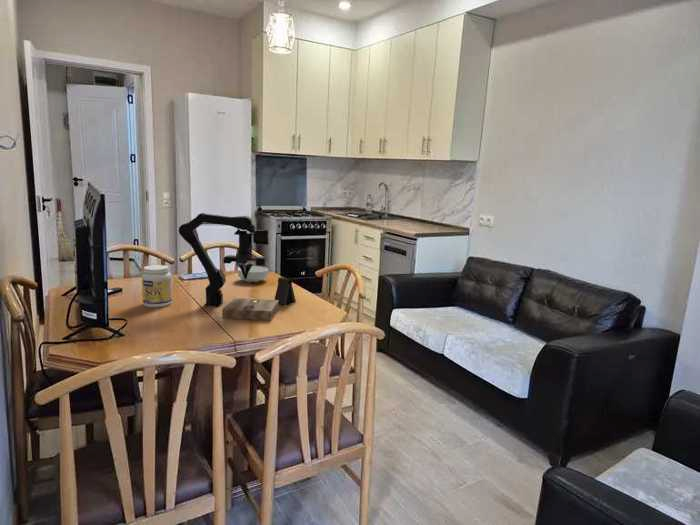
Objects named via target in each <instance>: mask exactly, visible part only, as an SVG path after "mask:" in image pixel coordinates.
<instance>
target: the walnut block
mask: <svg viewBox="0 0 700 525" xmlns="http://www.w3.org/2000/svg"><path fill="white" fill-rule="evenodd" d="M253 300H257V301H258V303H255V302H251V301H253ZM245 307H252V309H245ZM279 308H280V305H279V300H274V299H262V298H236V297H234V298H233V299H231V301H229V302H228V303H227V304H226V305H225V306H224V307H223V308H222V312H221V314H222V319H226V318H227V320H228V319H229V320H247V319H252V320H253V321H268V320H271V319H272V320H273V318H275V315H276V314H277V313H278V311H279ZM272 320H271V321H272Z"/></svg>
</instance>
